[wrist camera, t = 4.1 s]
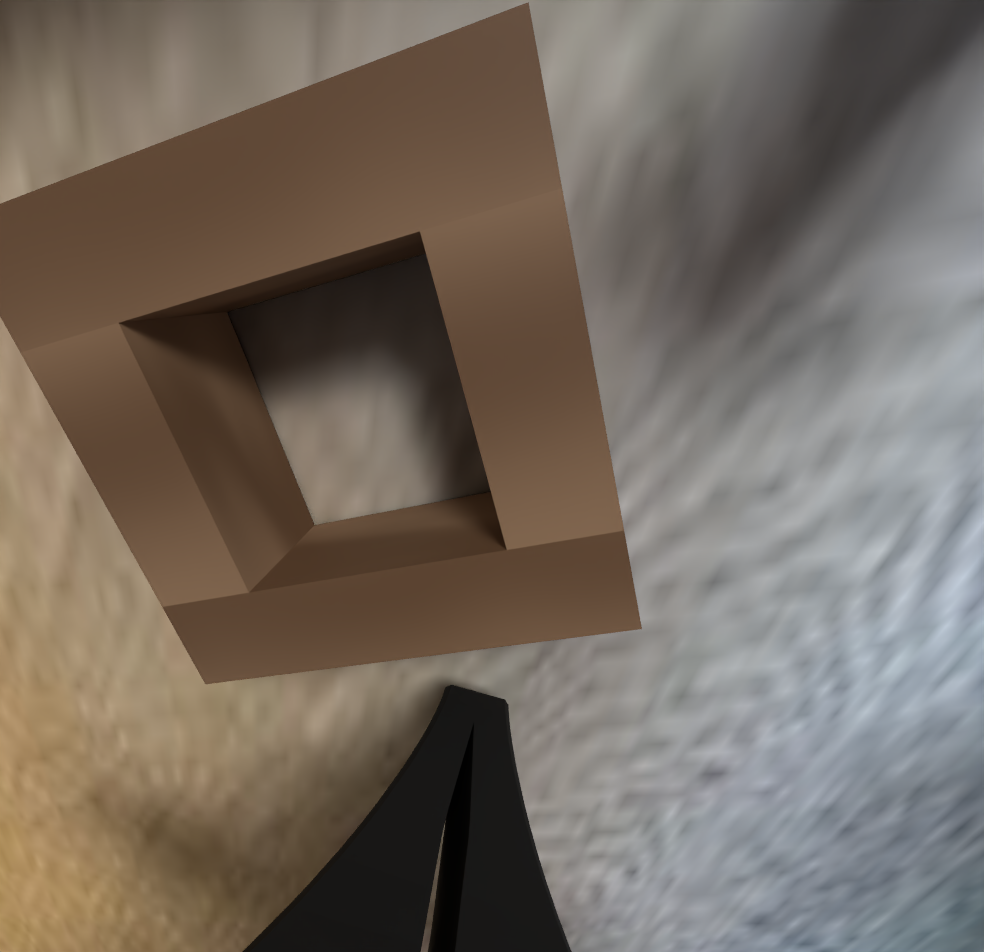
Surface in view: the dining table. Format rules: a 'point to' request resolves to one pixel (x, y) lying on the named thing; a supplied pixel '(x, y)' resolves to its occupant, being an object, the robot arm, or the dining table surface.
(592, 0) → the dining table surface
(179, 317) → the socket block
